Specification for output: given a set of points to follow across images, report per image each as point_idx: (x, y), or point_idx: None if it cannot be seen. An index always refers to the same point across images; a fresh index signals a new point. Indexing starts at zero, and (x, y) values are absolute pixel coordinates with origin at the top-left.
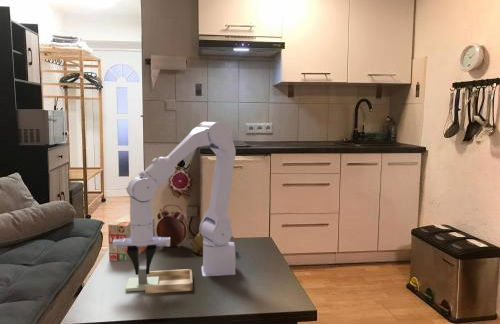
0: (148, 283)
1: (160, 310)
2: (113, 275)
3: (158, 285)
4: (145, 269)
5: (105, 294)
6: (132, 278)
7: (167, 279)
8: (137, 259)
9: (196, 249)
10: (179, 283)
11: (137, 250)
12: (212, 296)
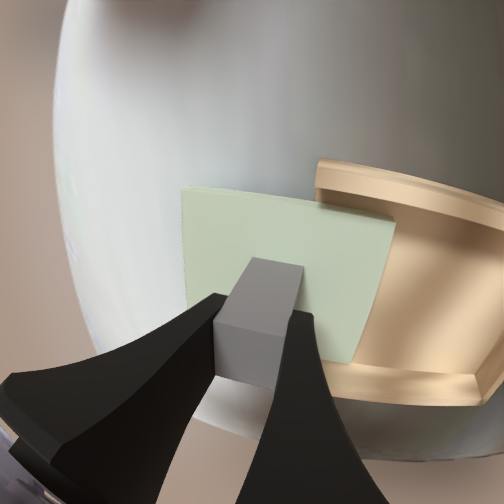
0: None
1: None
2: (112, 54)
3: (347, 397)
4: (270, 388)
5: (125, 277)
6: (204, 206)
7: (441, 233)
8: (174, 423)
9: None
10: (442, 401)
11: (131, 485)
12: (498, 401)
